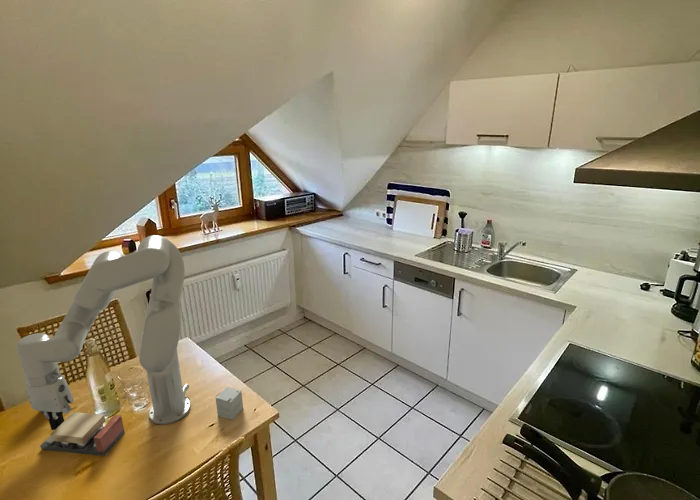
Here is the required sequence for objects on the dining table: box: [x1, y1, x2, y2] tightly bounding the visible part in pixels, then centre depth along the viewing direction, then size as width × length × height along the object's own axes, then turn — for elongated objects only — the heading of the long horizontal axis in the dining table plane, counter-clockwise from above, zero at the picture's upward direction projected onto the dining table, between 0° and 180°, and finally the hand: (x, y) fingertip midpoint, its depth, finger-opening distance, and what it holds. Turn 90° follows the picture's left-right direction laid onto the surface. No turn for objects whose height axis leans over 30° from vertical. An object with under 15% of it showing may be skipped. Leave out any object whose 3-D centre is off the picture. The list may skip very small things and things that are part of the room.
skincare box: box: [215, 386, 244, 421], centre depth 130 cm, size 6×6×7 cm
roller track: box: [39, 414, 125, 457], centre depth 119 cm, size 20×9×6 cm, turn 84°
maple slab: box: [49, 411, 106, 444], centre depth 118 cm, size 10×9×2 cm
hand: (58, 426), depth 119 cm, fingers closed
